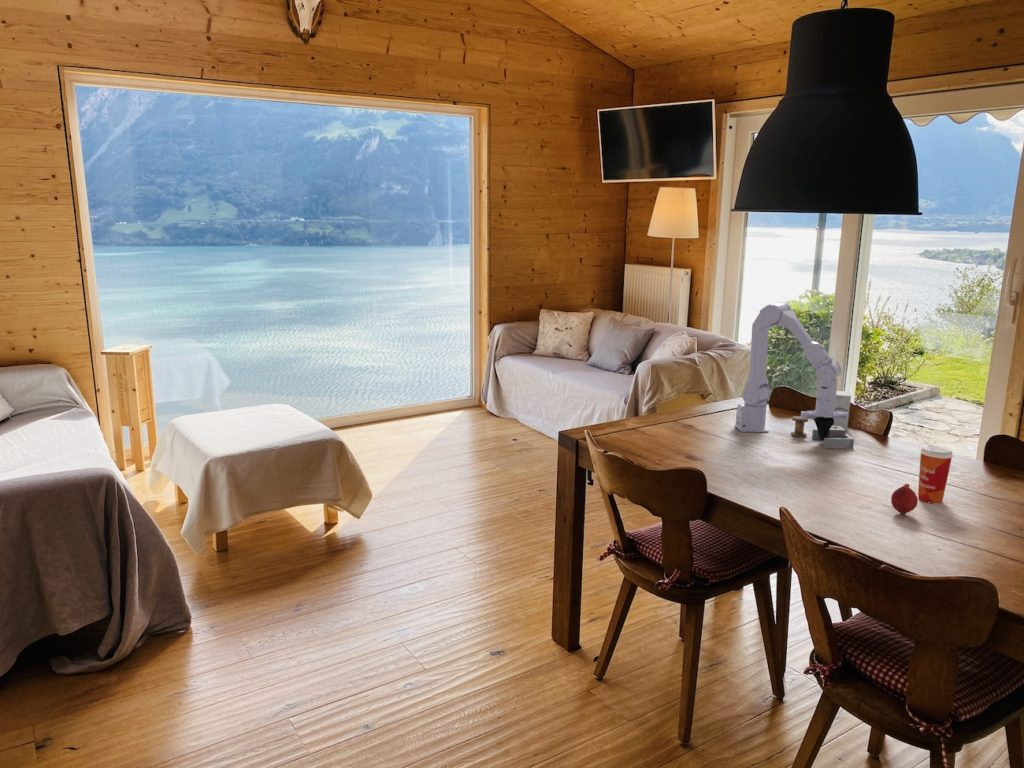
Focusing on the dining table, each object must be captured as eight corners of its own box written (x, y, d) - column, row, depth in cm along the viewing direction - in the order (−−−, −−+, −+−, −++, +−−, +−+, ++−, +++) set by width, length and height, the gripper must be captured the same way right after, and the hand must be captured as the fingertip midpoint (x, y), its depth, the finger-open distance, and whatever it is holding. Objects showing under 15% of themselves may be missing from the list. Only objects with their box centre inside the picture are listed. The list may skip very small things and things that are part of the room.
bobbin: (793, 437, 255) (795, 420, 253) (788, 433, 259) (790, 416, 258) (808, 437, 255) (810, 420, 253) (803, 433, 259) (805, 416, 258)
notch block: (824, 447, 244) (825, 438, 243) (811, 437, 255) (812, 429, 254) (853, 448, 244) (854, 439, 243) (839, 438, 254) (840, 429, 254)
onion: (903, 520, 187) (907, 489, 185) (884, 511, 192) (887, 481, 190) (920, 516, 189) (924, 486, 187) (900, 508, 194) (904, 478, 193)
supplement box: (824, 429, 264) (828, 394, 261) (822, 424, 271) (826, 389, 268) (847, 431, 262) (851, 395, 259) (845, 426, 269) (848, 391, 266)
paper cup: (908, 494, 204) (914, 443, 201) (937, 494, 204) (944, 444, 201) (922, 505, 197) (929, 453, 193) (953, 505, 196) (960, 453, 193)
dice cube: (839, 440, 251) (840, 426, 250) (844, 445, 247) (845, 430, 245) (823, 440, 252) (824, 425, 251) (828, 444, 247) (829, 429, 246)
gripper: (807, 401, 242) (803, 443, 245) (854, 402, 242) (849, 443, 245) (800, 396, 249) (796, 436, 252) (844, 397, 249) (840, 437, 252)
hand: (821, 439), depth 249 cm, fingers closed
